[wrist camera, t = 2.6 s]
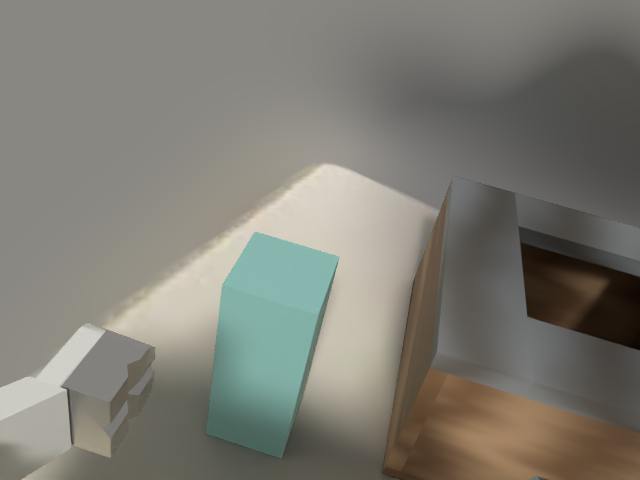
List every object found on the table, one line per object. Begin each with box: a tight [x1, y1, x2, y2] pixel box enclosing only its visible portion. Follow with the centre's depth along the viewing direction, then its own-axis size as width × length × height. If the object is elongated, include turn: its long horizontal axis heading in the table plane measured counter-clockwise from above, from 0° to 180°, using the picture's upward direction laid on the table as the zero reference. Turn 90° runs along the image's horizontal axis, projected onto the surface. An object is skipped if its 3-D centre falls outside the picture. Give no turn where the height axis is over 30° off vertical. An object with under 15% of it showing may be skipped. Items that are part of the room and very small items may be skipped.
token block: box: [206, 232, 339, 459], centre depth 27 cm, size 4×4×10 cm
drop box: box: [382, 176, 640, 480], centre depth 31 cm, size 16×16×9 cm
